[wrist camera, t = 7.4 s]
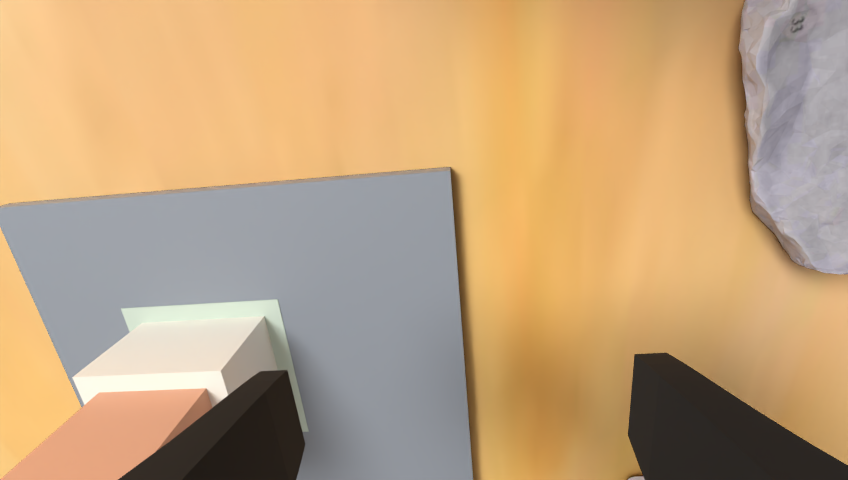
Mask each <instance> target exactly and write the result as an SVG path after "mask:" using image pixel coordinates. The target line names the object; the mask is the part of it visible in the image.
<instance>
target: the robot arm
mask: <svg viewBox="0 0 848 480" xmlns="http://www.w3.org/2000/svg"><path fill="white" fill-rule="evenodd" d="M628 436H629V439H630V442H631V444H632V447H633V450H634V453H635V455H636V458H637V461H638V463H639V466H640V469H641V471H642V474H643V476H635V477H631V478H629V479H628V480H848V465H846V464H844V463H843V462H841V461H839V460H837V459H836V458H834V457H832V456H830V455H829V454H827V453H825V452H824V451H822V450H820V449H818V448H817V447H815V446H813V445H812V444H810V443H808V442H807V441H805V440H803V439H802V438H800V437H798V436H797V435H795V434H794V433H792V432H790V431H789V430H787V429H785V428H784V427H782V426H781V425H779V424H777V423H776V422H774V421H773V420H771V419H769V418H768V417H766V416H765V415H763V414H761V413H760V412H758V411H757V410H755V409H754V408H752V407H750V406H749V405H747V404H746V403H744V402H743V401H741V400H740V399H738V398H737V397H735V396H733V395H732V394H730V393H729V392H727V391H726V390H724V389H723V388H721V387H720V386H718V385H717V384H715V383H714V382H712V381H710V380H709V379H707V378H706V377H704V376H703V375H701V374H700V373H698V372H697V371H695V370H694V369H692V368H691V367H689V366H687V365H686V364H684V363H683V362H681V361H679V360H678V359H676V358H674V357H673V356H671V355H669V354H668V353H653V354H635V357H634V369H633V381H632V393H631V405H630V417H629V429H628ZM304 448H305V440H304V436H303V432H302V428H301V424H300V420H299V415H298V411H297V407H296V403H295V399H294V395H293V391H292V387H291V383H290V379H289V374H288V370H275V371H260V372H258V373H257V374H256V375H254V376H253V377H251V378H250V379H249V380H247V381H246V382H245V383H243V384H242V385H241V386H239V387H238V388H237V389H235V390H234V391H233V392H232V393H230V394H229V395H228V396H227V397H225V398H224V399H223V400H222V401H220V402H219V403H218V404H217V405H215V406H214V407H213V408H211V409H210V410H209V411H208V412H206V413H205V414H204V415H203V416H201V417H200V418H199V419H198V420H196V421H195V422H194V423H192V424H191V425H190V426H189V427H187V428H186V429H185V430H184V431H182V432H181V433H180V434H178V435H177V436H176V437H175V438H173V439H172V440H171V441H170V442H168V443H167V444H166V445H164V446H163V447H161V448H160V449H159V450H157V451H156V452H155V453H153V454H152V455H151V456H149V457H148V458H147V459H145V460H144V461H142V462H141V463H140V464H138V465H137V466H136V467H134V468H133V469H132V470H130V471H129V472H128V473H126V474H125V475H123V476H122V477H121V478H119V479H118V480H296V479H297V475H298V472H299V468H300V464H301V460H302V456H303V452H304Z"/></svg>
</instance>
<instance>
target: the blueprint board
mask: <svg viewBox="0 0 848 480" xmlns="http://www.w3.org/2000/svg"><path fill="white" fill-rule="evenodd" d="M0 227H1V230H2V232H3V234H4V236H5V238H6V241H7V243H8V245H9V247H10V249H11V252H12V254H13V256H14V258H15V260H16V263H17V265H18V267H19V269H20V272H21V274H22V276H23V278H24V280H25V283H26V285H27V287H28V289H29V291H30V294H31V296H32V298H33V300H34V303H35V305H36V307H37V309H38V311H39V314H40V316H41V318H42V320H43V322H44V325H45V327H46V329H47V331H48V334H49V336H50V338H51V340H52V342H53V345H54V347H55V349H56V351H57V353H58V356H59V358H60V360H61V362H62V365H63V367H64V369H65V371H66V373H67V376H68V378H69V380H70V382H71V384H72V387H73V389H74V391H75V393H76V395H77V398H78V400H79V402H80V404H81V407H83V406H84V403H83V400H82V398H81V396H80V394H79V391H78V389H77V387H76V385H75V383H74V380H73V378H72V377H73V376H75V375H76V374H77V373H78V372H80V371H81V370H82V369H84V368H85V367H86V366H87V365H89V364H90V363H91V362H92V361H94V360H95V359H96V358H98V357H99V356H100V355H101V354H103V353H104V352H105V351H107V350H108V349H109V348H110V347H112V346H113V345H114V344H116V343H117V342H118V341H119V340H121V339H122V338H123V337H125V336H126V335H127V334H128V333H130V332H131V331H132V330H134V329H135V328H136V327H137V326H139V325H140V324H141V323H147V322H165V321H184V320H202V319H220V318H238V317H256V316H264V317H265V321H266V325H267V329H268V333H269V337H270V341H271V345H272V349H273V353H274V357H275V361H276V365H277V369H278V370H288V374H289V379H290V383H291V387H292V391H293V395H294V399H295V403H296V407H297V411H298V415H299V420H300V424H301V428H302V432H303V436H304V440H305V448H304V452H303V456H302V460H301V464H300V468H299V472H298V475H297V479H296V480H473V470H472V457H471V443H470V429H469V416H468V402H467V388H466V375H465V361H464V348H463V334H462V320H461V307H460V293H459V279H458V266H457V252H456V239H455V225H454V211H453V198H452V184H451V170H450V167H443V168H431V169H419V170H407V171H395V172H383V173H371V174H359V175H347V176H335V177H323V178H311V179H299V180H286V181H274V182H262V183H250V184H238V185H226V186H214V187H202V188H190V189H178V190H166V191H154V192H142V193H130V194H118V195H106V196H93V197H81V198H69V199H57V200H45V201H33V202H21V203H9V204H6V205H2V206H0Z"/></svg>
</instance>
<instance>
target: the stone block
mask: <svg viewBox="0 0 848 480" xmlns="http://www.w3.org/2000/svg"><path fill="white" fill-rule="evenodd" d="M739 52H740V54H741V57H742V79H743V84H744V88H745V95H746V103H747V105H746V110H745V113H744V117H745V128H746V134H747V140H748V167H749V177H750V181H749V183H750V203H751V208H752V212H753V213H755V214H756V215H757V217H758V218H759V219H760V220H761V221H762V222H763V223H764V224H765V225H766V226H767V227H768V228H769V229H771V230H772V232H773V233H774V234H775V235H776V236H777V238H778V240H779V242H780V243H781V245H782V247H783V248H784V250H785V251H786V252H787V253H788V254H789V255H790V258H791V260H793V261H794V262H795V263H797V264H798V265H801V266H804V267H806V268H809V269H814V270H818V271H821V272H823V273H833V274H848V0H745V3H744V6H743V10H742V15H741V33H740V43H739Z"/></svg>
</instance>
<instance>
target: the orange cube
mask: <svg viewBox="0 0 848 480" xmlns="http://www.w3.org/2000/svg"><path fill="white" fill-rule="evenodd" d="M211 408H212V405H211V401H210V398H209V395H208V392H207V389H206V388H200V389H174V390H149V391H123V392H99V393H98V394H97V395H95V396H94V397H93V398H92V399H91V400H90V401H89V402H87V403H86V404H85V405H84V406H83V407H82V408H81V409H80V410H78V411H77V412H76V413H75V414H74V415H73V416H72V417H70V418H69V419H68V420H67V421H66V422H65V423H64V424H63V425H61V426H60V427H59V428H58V429H57V430H56V431H55V432H53V433H52V434H51V435H50V436H49V437H48V438H47V439H46V440H44V441H43V442H42V443H41V444H40V445H39V446H38V447H36V448H35V449H34V450H33V451H32V452H31V453H30V454H29V455H27V456H26V457H25V458H24V459H23V460H22V461H21V462H19V463H18V464H17V465H16V466H15V467H14V468H13V469H11V470H10V471H9V472H8V473H7V474H6V475H5V476H4V477H2V478H1V479H0V480H118V479H119V478H121V477H122V476H123V475H125V474H126V473H128V472H129V471H130V470H132V469H133V468H134V467H136V466H137V465H138V464H140V463H141V462H142V461H144V460H145V459H147V458H148V457H149V456H151V455H152V454H153V453H155V452H156V451H157V450H159V449H160V448H161V447H163V446H164V445H166V444H167V443H168V442H170V441H171V440H172V439H173V438H175V437H176V436H177V435H178V434H180V433H181V432H182V431H184V430H185V429H186V428H187V427H189V426H190V425H191V424H192V423H194V422H195V421H196V420H198V419H199V418H200V417H201V416H203V415H204V414H205V413H206V412H208V411H209V410H210V409H211Z"/></svg>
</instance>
